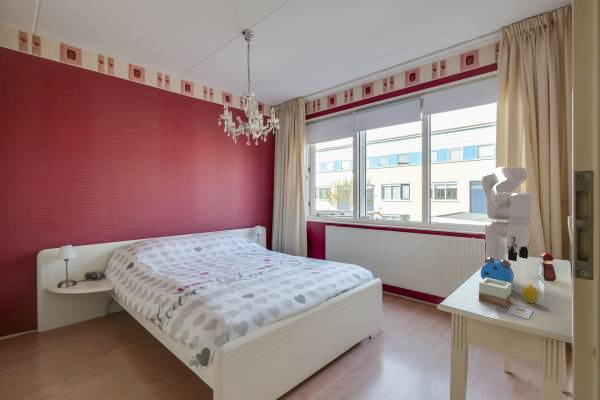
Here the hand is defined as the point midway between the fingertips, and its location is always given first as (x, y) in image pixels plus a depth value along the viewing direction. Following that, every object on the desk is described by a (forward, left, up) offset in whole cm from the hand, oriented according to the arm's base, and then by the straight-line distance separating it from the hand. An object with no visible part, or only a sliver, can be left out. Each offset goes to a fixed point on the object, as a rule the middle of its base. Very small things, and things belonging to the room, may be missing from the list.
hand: (517, 259), depth 125 cm
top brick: (+6, -7, -16) cm, 18 cm away
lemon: (-4, +4, -20) cm, 21 cm away
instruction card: (+11, +3, -20) cm, 23 cm away
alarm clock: (-15, -11, -20) cm, 27 cm away
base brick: (+6, -7, -20) cm, 22 cm away
